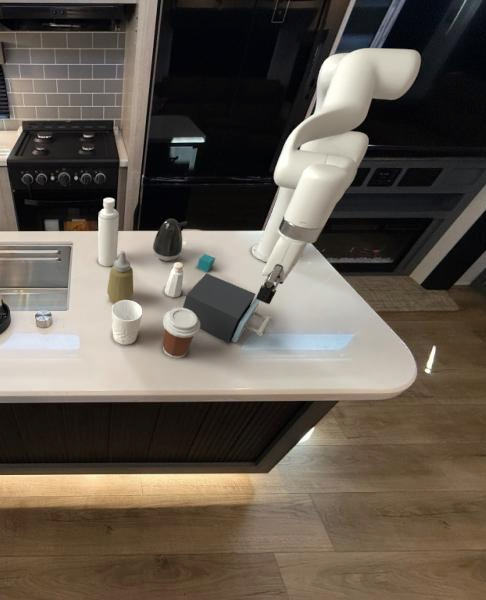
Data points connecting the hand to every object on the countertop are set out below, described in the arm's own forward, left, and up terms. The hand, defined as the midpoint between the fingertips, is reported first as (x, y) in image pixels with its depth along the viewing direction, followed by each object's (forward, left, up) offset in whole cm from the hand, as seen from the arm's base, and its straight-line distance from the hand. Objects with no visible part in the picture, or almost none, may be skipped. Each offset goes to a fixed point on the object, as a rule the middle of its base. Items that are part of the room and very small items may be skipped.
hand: (269, 290), depth 77 cm
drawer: (0, -6, -15) cm, 16 cm away
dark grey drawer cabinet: (0, -10, -16) cm, 19 cm away
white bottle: (-3, -52, -17) cm, 55 cm away
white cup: (+22, -26, -17) cm, 38 cm away
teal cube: (-22, -23, -16) cm, 36 cm away
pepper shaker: (-3, -25, -17) cm, 30 cm away
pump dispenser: (-19, -37, -17) cm, 45 cm away
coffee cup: (+17, -13, -17) cm, 27 cm away
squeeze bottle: (+11, -36, -17) cm, 42 cm away
